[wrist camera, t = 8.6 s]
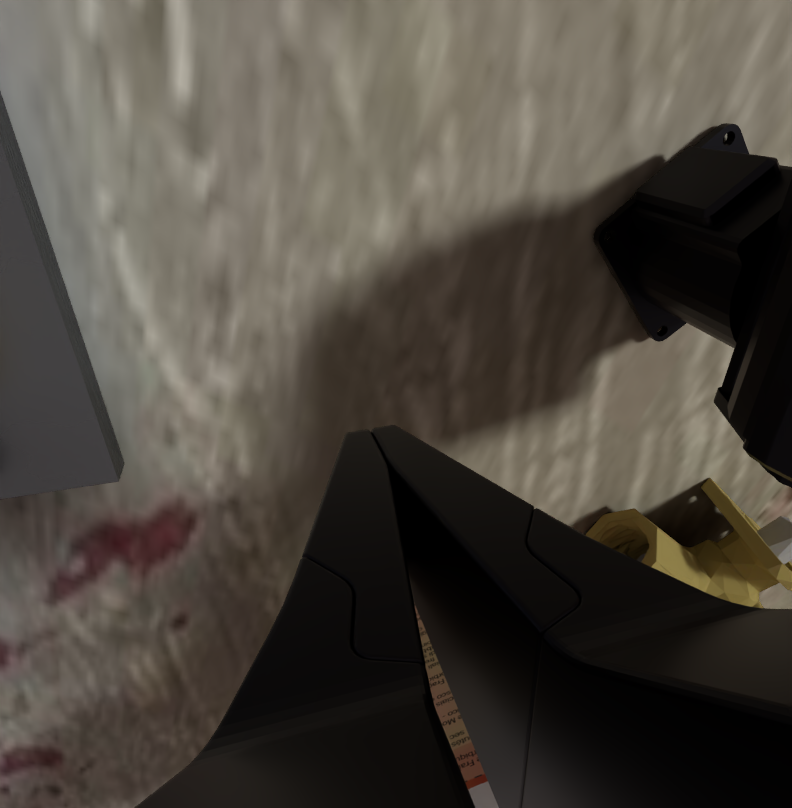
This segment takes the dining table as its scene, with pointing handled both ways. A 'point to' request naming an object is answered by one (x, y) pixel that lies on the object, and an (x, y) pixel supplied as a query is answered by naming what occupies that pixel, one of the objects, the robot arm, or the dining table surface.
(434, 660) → the fruit juice
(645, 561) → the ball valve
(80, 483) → the valve base
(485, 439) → the dining table surface
